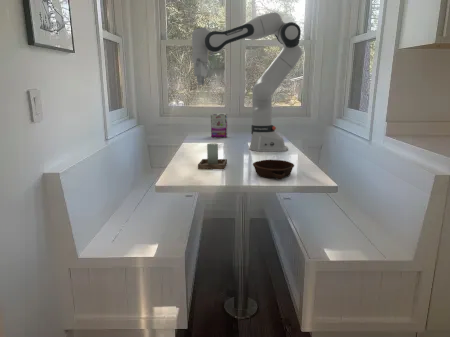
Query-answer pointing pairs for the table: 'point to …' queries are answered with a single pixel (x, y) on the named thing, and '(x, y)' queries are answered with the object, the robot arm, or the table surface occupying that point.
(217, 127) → the candy bar box
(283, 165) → the dish
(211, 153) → the sage ceramic canister
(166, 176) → the table surface
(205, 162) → the walnut tray
